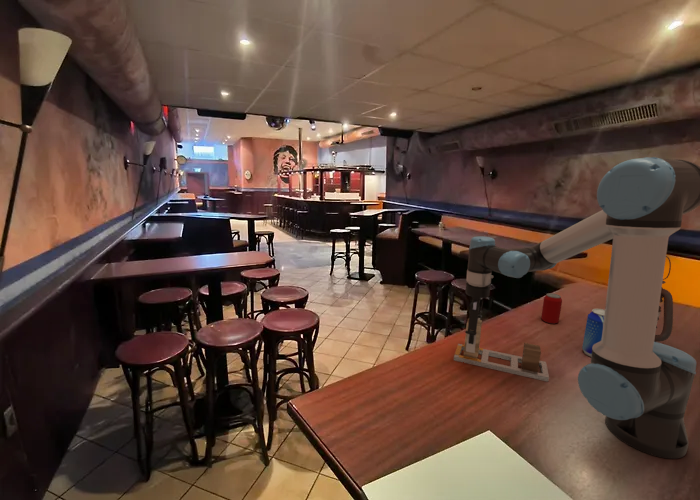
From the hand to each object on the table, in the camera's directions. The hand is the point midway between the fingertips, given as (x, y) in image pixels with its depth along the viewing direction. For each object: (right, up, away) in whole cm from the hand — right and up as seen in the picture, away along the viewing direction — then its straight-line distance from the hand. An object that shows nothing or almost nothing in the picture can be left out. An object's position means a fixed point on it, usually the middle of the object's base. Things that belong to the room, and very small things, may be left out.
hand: (472, 343), depth 117 cm
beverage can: (+45, 0, +32) cm, 56 cm away
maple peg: (0, -5, +1) cm, 5 cm away
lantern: (+68, -4, +14) cm, 70 cm away
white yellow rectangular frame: (+8, -6, -3) cm, 10 cm away
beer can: (+45, -5, +4) cm, 46 cm away
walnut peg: (+16, -7, -6) cm, 19 cm away
